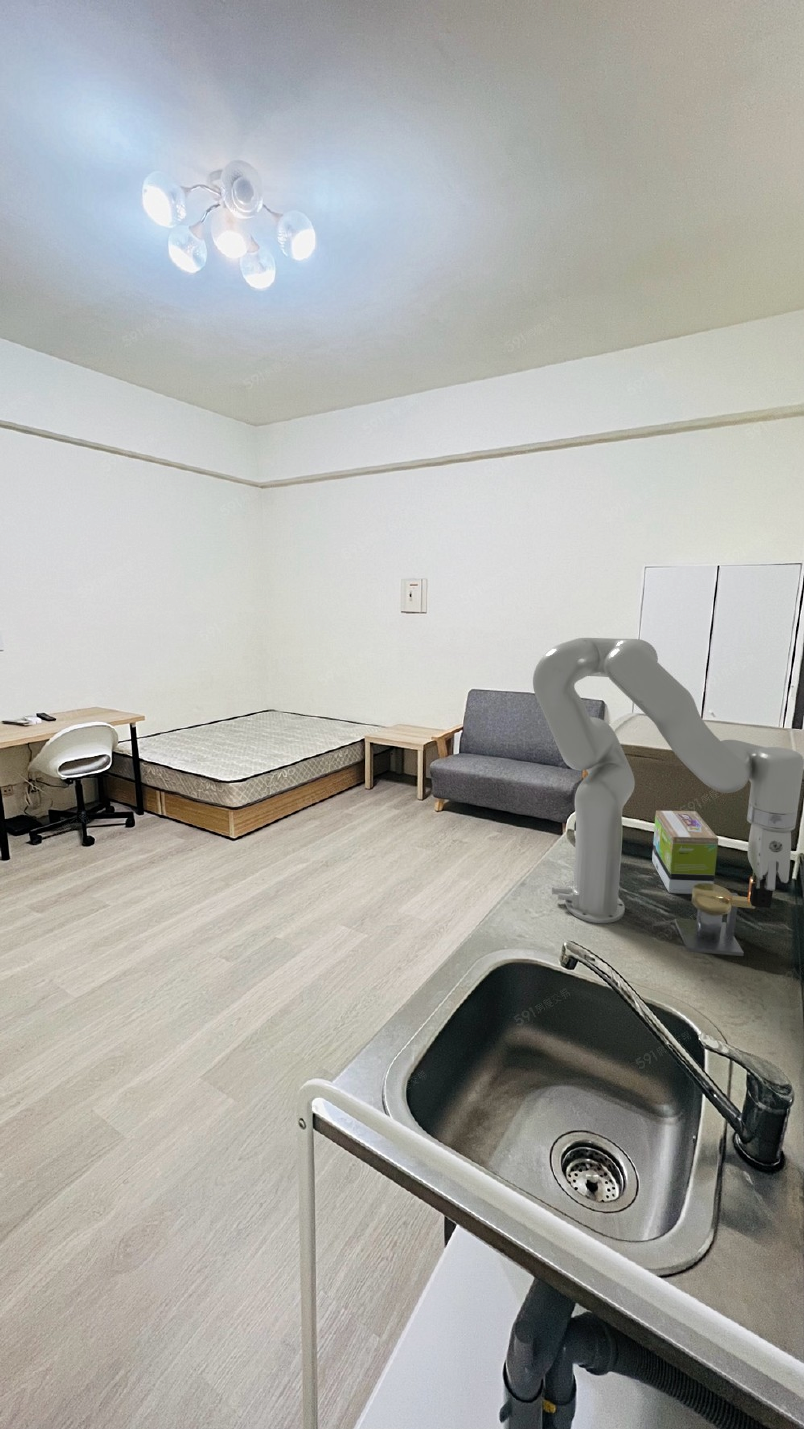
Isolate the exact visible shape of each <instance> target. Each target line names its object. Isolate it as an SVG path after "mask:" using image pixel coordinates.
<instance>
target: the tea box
mask: <svg viewBox="0 0 804 1429" xmlns="http://www.w3.org/2000/svg"><path fill="white" fill-rule="evenodd" d="M653 832H654V833H653V844H652V856H651V858H652V860H651V861H652V863H653V865H654V868H655V869H656V871H657V873H658V874H659V877H660V879H661V881H662V882H663V884H664V886H665V888H666V889H667V892H668V893H669V894H683V895H684V894H685V895H692V893H693V887H694V886H695V885H696V884H700V883H710V884H715V876H716V865H717V856H718V848H719V837H718V836H717V834H716V833H714V831H713V830H712V829H711V827H710V826H709V825H708V824H707V822H706V821H705V820H704V819H703V818H702V817H701V816H700V814H699V813H698V812H697V811H696V810H657V809H656V811H655V817H654V829H653Z"/></svg>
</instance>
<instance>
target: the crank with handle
mask: <svg viewBox="0 0 804 1429" xmlns="http://www.w3.org/2000/svg"><path fill="white" fill-rule="evenodd" d="M748 883H749V884H748V891H747V897H746V896H740V895H738V896H732V894H731V893H732V892H731V891H730V890H728V889H727V888H725V887H723V886H721V885H718V884H715V883H714V884H710V883H700V884H696V885H695V886H694V887H693V893H692V894H691V904H692V905H693V906H694V907H695V908H696V909H697V910H698V909H699V910H701V911H703V912H706V913H709V914H714V915H723V916H724V915H727V914H728V913H729V912H730V911H731V906H735V907H737V908H745V909H752V910H753V909H756V906H752V905H751V902H750V893H751V885H752V883H754V882H753V881H752V876H750V878H749V882H748Z"/></svg>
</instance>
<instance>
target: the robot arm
mask: <svg viewBox="0 0 804 1429" xmlns="http://www.w3.org/2000/svg"><path fill="white" fill-rule="evenodd" d="M658 660H659V658H658V653H657V650H656V649H655V647H654V646H653V645H652V644H651V643H650V642H648V641H645V640H643V639H640V638H612V637H611V638H610V637H609V638H605V637H604V638H603V637H578V638H575V639H571V640H568V641H565V642H561V643H560V644H558V645H555V646H554V647H552V648H550V649H549V650H548V651H547V652H546V653H545V654H544V655H542V657H541V658H540V660H539V661H538V663H537V665H536V666H535V668H534V672H533V677H532V687H533V688H532V689H533V691H534V695H535V698H536V700H537V702H538V705H539V707H540V708H541V711H542V712H543V715H544V717H545V720H546V722H547V725H548V727H549V730H550V731H551V734H552V736H553V739H554V741H555V744H556V747H557V749H558V751H559V754H560V755H561V758H562V759H563V762H564V763H565V764H566V766H568V767H570V769H572V770H575V771H577V772H582V771H583V772H584V771H586V772H587V776H585V777H584V778H583V779H582V780H581V781H580V783H579V784H578V786H577V789H576V792H575V795H574V811H575V812H574V813H575V839H574V840H575V841H574V842H575V844H574V846H575V847H574V866H573V867H574V868H573V869H574V870H573V881H572V880H571V881H570V885H565V886H560V885H551V895H557V900H559V901H560V900H561V901H565V903H564V904H565V907H566V909H567V911H568V912H570V914H572V915H574V916H575V917H576V918H578V919H580V920H583V921H586V922H589V923H595V924H611V923H613V922H617V921H619V920H621V919H622V918H623V917H624V915H625V912H626V911H625V910H626V907H625V903H624V902H623V901H622V899H620V898H619V892H620V891H619V889H620V876H621V874H620V872H621V862H622V845H623V809H624V806H625V805H626V804H627V802H628V800H629V799H630V798H631V796H632V794H633V792H634V791H635V786H636V785H635V784H636V780H635V777H634V776H635V775H634V772H633V770H632V768H631V766H630V764H629V761H628V758H627V757H626V754H625V752H624V749H623V746H622V745H621V743H620V740H619V738H618V736H617V734H616V732H615V731H614V728H612V727H611V725H610V724H609V723H608V722H607V721H605V720H603V719H602V718H599V717H594V716H590V715H589V712H588V711H587V708H586V705H585V703H584V701H583V699H582V697H581V696H580V695H579V693H578V692H577V691H576V689H575V687H576V686H575V685H576V683H578V682H579V681H580V680H582V679H585V678H587V677H600V678H609V680H610V681H611V682H612V683H613V684H614V685H615V686H616V687H617V688H618V689H619V690H620V692H622V693H623V694H624V695H625V696H626V697H627V698H628V699H629V700H630V701H631V702H633V704H635V705H636V707H637V708H639V709H640V710H641V712H643V713H644V715H646V716H647V718H648V719H650V720H651V722H653V723H654V725H655V726H656V728H657V730H658V732H659V733H660V734H661V736H662V738H663V739H664V740H665V742H666V743H667V744H668V746H669V748H670V749H671V751H672V752H673V753H674V754H675V755H676V757H677V758H678V759H679V760H680V761H681V762H682V763H683V764H684V765H685V767H687V769H688V770H690V771H691V772H692V774H694V775H695V776H696V777H697V778H698V779H699V780H700V781H701V782H702V783H703V784H704V785H706V786H707V787H709V789H712V790H714V791H716V792H719V793H723V794H729V793H737V792H738V791H740V790H742V789H743V788H745V786H746V785H747V784H748V783H749V782H750V791H749V798H748V807H747V808H748V809H747V816H746V820H747V822H748V823H749V824H751V825H750V831H749V837H748V844H747V858H748V861H749V864H750V866H751V868H752V876H751V877H752V881H753V882H754V883H752V885H751V893H750V902H751V905H752V906H755V908H756V907H758V908H763V909H771V906H772V903H773V902H772V900H773V894H774V893H773V892H774V891H775V890H776V876H778V878H779V880H780V881H781V883H783V884H787V883H788V882H789V879H790V878H789V877H790V865H791V854H792V833H791V832H792V831H793V830H795V828H796V824H797V818H798V811H799V810H798V808H799V803H800V795H801V789H802V787H801V786H802V782H803V775H804V757H803V756H802V754H801V753H799V752H798V751H795V750H793V749H790V748H789V749H788V748H784V747H777V746H776V747H774V746H773V747H772V746H768V747H766V746H761V745H756V744H752V743H749V742H745V741H741V740H736V739H724V740H720V739H719V738H718V736H716V735H715V734H714V732H712V730H711V729H710V728H709V726H708V725H707V724H706V723H705V721H704V720H703V718H702V717H701V715H700V713H699V711H698V707H697V704H696V702H695V699H694V697H693V696H692V694H691V693H690V691H689V690H688V689H687V688H685V686H683V685H682V684H681V683H680V682H679V681H678V680H677V679H676V678H675V677H674V676H673V675H671V673H670V672H669V671H668V670H666V669H665V668H664V667H663V666H662V664H661V663H659V661H658Z"/></svg>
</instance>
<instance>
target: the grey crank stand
mask: <svg viewBox="0 0 804 1429" xmlns="http://www.w3.org/2000/svg"><path fill="white" fill-rule="evenodd" d="M731 894H732V896H739V895H738V893H737V892H731ZM696 914H697V915H696V916H697V917H696V919H690V918H689V919H688V918H676V917H675V918H674V925H675V926H676V929H677V930H678V932H679V935H680V937H681V939H682V942H683V943H684V945H685V949H686V950H687V952H691V953H692V952H694V953H702V954H704V953H705V954H713V955H715V954H716V955H727V956H736V957H737V956H739V957H744V954H745V953H744V950H743V949H742V947H741V946H740V944H739V942H738V941H737V939H736V937H735V929H736V921H737V916H738V915H737V914H738V907H735V906H731V911H730V912H729V913H728V914H726V915H727V916H726V922H725V921H723V916H724V915H714V914H709V913H706V912H703V911H701V910H699V909H697V913H696Z"/></svg>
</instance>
